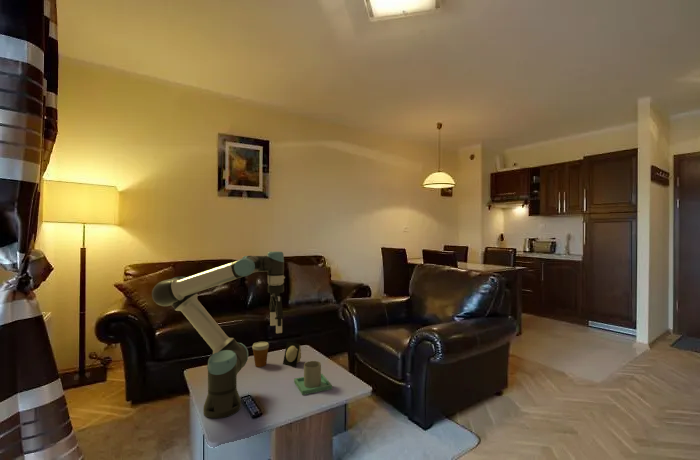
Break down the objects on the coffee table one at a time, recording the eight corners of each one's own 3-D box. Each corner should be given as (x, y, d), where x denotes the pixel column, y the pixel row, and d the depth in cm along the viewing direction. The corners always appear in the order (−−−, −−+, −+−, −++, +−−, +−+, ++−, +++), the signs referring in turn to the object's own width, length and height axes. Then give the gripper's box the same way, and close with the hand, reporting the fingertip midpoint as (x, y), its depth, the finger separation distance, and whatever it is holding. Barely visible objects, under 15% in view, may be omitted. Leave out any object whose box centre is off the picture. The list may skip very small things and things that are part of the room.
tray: (302, 395, 158) (302, 391, 158) (294, 382, 172) (294, 378, 172) (332, 388, 164) (332, 385, 164) (322, 376, 178) (322, 373, 178)
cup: (317, 388, 163) (317, 368, 163) (301, 387, 164) (301, 366, 165) (322, 381, 171) (322, 361, 171) (307, 379, 173) (307, 360, 173)
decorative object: (291, 363, 201) (304, 367, 196) (279, 364, 193) (292, 368, 188) (295, 341, 205) (308, 344, 199) (283, 341, 196) (296, 344, 191)
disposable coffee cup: (251, 362, 197) (251, 342, 197) (268, 361, 200) (268, 340, 200) (252, 369, 188) (252, 347, 188) (269, 367, 191) (269, 345, 191)
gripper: (290, 287, 150) (290, 335, 149) (278, 280, 172) (278, 321, 172) (273, 288, 146) (273, 337, 146) (263, 281, 169) (263, 323, 169)
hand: (275, 329), depth 159 cm, fingers open, 13 cm apart
